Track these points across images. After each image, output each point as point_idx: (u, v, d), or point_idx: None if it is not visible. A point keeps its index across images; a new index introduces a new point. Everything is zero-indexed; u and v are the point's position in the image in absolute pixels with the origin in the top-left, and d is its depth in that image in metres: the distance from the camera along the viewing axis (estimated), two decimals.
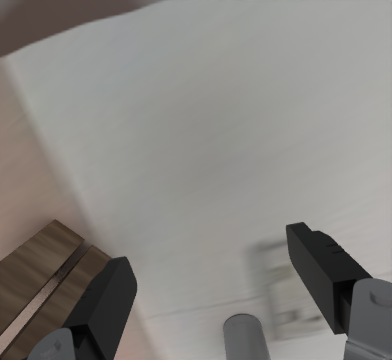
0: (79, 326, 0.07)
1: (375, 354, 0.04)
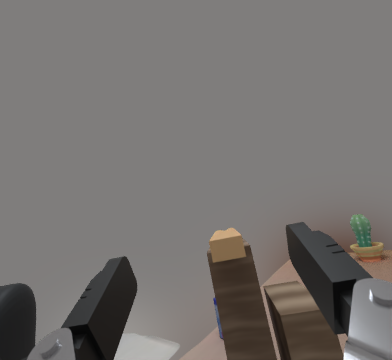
0: (79, 326, 0.07)
1: (375, 354, 0.04)
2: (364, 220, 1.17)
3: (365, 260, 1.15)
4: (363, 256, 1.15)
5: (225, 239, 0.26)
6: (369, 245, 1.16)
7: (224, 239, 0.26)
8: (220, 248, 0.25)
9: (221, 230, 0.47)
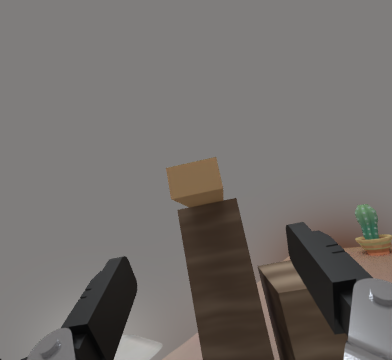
0: (79, 326, 0.07)
1: (375, 354, 0.04)
2: (370, 210, 1.08)
3: (372, 253, 1.06)
4: (370, 249, 1.06)
5: (191, 164, 0.16)
6: (376, 237, 1.06)
7: (190, 164, 0.16)
8: (184, 177, 0.16)
9: None
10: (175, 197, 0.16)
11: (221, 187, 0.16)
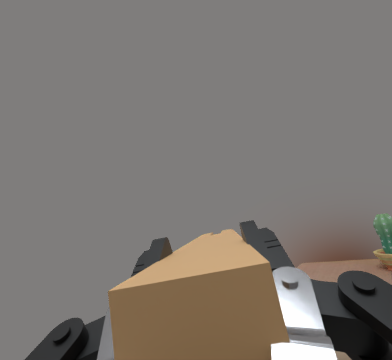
0: None
1: (292, 333, 0.05)
2: (391, 221, 0.97)
3: None
4: (391, 265, 0.94)
5: (188, 283, 0.05)
6: None
7: (183, 283, 0.05)
8: (163, 329, 0.05)
9: None
10: None
11: None
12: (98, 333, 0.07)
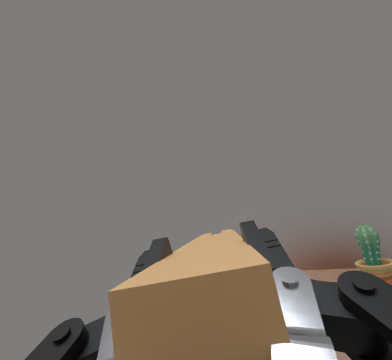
0: None
1: (292, 333, 0.05)
2: (372, 232, 0.97)
3: None
4: None
5: (188, 284, 0.05)
6: (378, 263, 0.96)
7: (183, 284, 0.05)
8: (163, 330, 0.05)
9: (210, 233, 0.26)
10: None
11: None
12: (98, 333, 0.07)
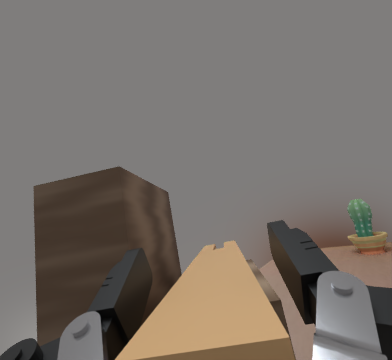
0: (105, 310, 0.07)
1: (339, 342, 0.04)
2: (364, 205, 0.99)
3: (365, 252, 0.97)
4: (363, 248, 0.97)
5: (200, 358, 0.05)
6: (370, 235, 0.98)
7: (194, 357, 0.05)
8: None
9: (213, 246, 0.25)
10: None
11: None
12: (53, 355, 0.07)
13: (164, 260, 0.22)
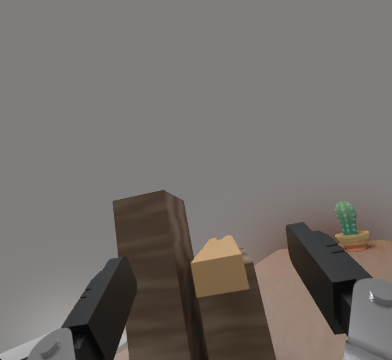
0: (79, 326, 0.07)
1: (375, 354, 0.04)
2: (349, 207, 1.11)
3: (350, 249, 1.09)
4: (348, 245, 1.09)
5: (216, 260, 0.16)
6: (354, 233, 1.09)
7: (215, 260, 0.16)
8: (209, 274, 0.16)
9: (216, 238, 0.37)
10: (200, 295, 0.16)
11: (247, 287, 0.16)
12: None
13: (185, 246, 0.33)
